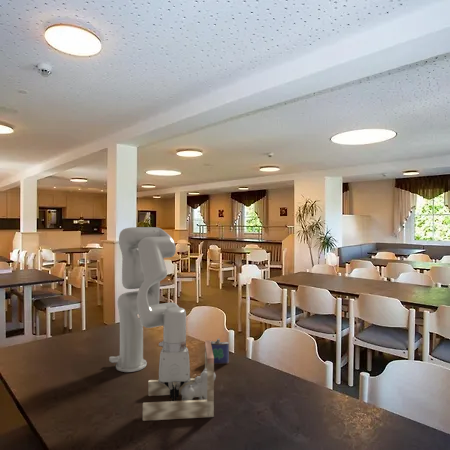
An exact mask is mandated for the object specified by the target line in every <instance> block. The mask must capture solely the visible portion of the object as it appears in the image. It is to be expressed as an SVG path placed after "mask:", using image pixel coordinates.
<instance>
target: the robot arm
mask: <svg viewBox="0 0 450 450" xmlns="http://www.w3.org/2000/svg"><path fill="white" fill-rule="evenodd" d="M118 245H119V249H120V252H121V258H122V260H121V261H122V263H121V265H122V266H121V284H122V287H123V288H124V289H126V290H133V291H127V292H124V293H122V294H120V295H119V296H118V298H117V308H118V309H117V310H118V316H119V355H117V356H109V357H108V358H109V359H108V360H109V362H110V363H111V364H115V369H116V370H117V371H119V372H122V373H123V372H124V373H133V372H139V371H141V370H143V369H145V368H146V366H147V363H148V362H147V360H146V359H144V328H147V329H152V328H157V327H162V326H163V328H162V329H163V332H162V333H163V335H162V337H163V340H162V341H161V342H159V343H158V347H161V348H162V349H161V350H160V354H159V363H158V364H159V365H158V379H157V380H158V383H161V384H165V385H166V386H167V387H168V388H169V390H170V395H169V399H171V401H178V399H179V397H180V394H179V389H180V387H181V386H182V385H183V384H184V383H188V382H190V381H191V365H190V364H191V362H190V354H189V353H190V352H189V348H188V347H187V312H186V309H185V308H183V307H180V306H179V305H178V304H177V303H176V302H172V301H171V302H165V303H160V295H161V294H160V293H161V292H160V291H161V290H160V288H161V283H160V282H161V281H163V280H164V279H166V277H167V276H168V271H167V267H166V263H165V262H166V261H165V259H167V258H172V257H174V256H175V254H176V251H177V247H176V243H175V240H174V239H173V238H172V236H171V235H170V234H168V232H166V231H165V230H164V229H162V228H160V227H157V226H156V227H154V226H153V227H152V226H151V227H150V226H149V227H143V226H139V227H137V226H136V227H135V226H134V227H133V226H132V227H126V228H123V229H122V230H121V231H120V233H119V236H118ZM137 289H138V290H137ZM173 382H177V383H176V385H175V395H174V385H173Z"/></svg>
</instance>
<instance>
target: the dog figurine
mask: <svg viewBox="0 0 450 450" xmlns="http://www.w3.org/2000/svg"><path fill="white" fill-rule="evenodd" d="M216 377H217V375H216V372H214V381H215V380H216ZM198 379H199V380H198ZM180 396H181V401H187V400H194V398H198V400H207V369H205V368H204V369H203V371H202V372H201V373H200V376H199V375H197V376H195V383H193V384H191V385H190V384H188V385H186V386H184V387H183V389H182V390H181V394H180Z"/></svg>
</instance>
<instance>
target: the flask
mask: <svg viewBox="0 0 450 450" xmlns="http://www.w3.org/2000/svg"><path fill="white" fill-rule="evenodd" d="M211 346H212V351H213V356H214V365H228V364H229V362H230V360H229V357H230V356H229V355H230V354H229V352H230V351H229V350H230V349H229V348H230V343H229V342H228V341H221V338H216V340H214V341H213V340H212V341H211Z"/></svg>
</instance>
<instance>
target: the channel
mask: <svg viewBox="0 0 450 450" xmlns="http://www.w3.org/2000/svg"><path fill="white" fill-rule="evenodd" d="M204 369H207V400H204V399H202V400H199V399H192V400H187V401H182V400H177V401H175V400H174V401H172V400H171V401H169V400H168V401H167V400H166V401H150V402H143V403H142V421H144V422H145V421H161V420H162V421H163V420H179V419H181V420H182V419H197V418H213V417H215V415H214V412H215V410H214V409H215V408H214V406H215V405H214V404H215V403H214V402H215V401H214V400H215V399H214V398H215V397H214V396H215V395H214V394H215V393H214V392H215V390H214V389H215V388H214V386H215V380H214V373H215V364H214V356H213V351H212V346H211V340H208V339H207V340H204ZM195 378H196V377H195ZM195 378H193V377H192V378H191V377H190V379H191V381H190V382H188V383H184V384H183V385H182V386H181V387H180V389H179V395H181V390H182V389H183V387H184V386H186V385H188V384H190V385H191V384H193V383H195ZM158 380H159V379H149V380H148V383H147V385H148V391H147V392H148V396H149V397H153V396H155V397H156V396H158V397H159V396H170V390H169V388H168V387H167V386H166V385H165V384H161V383H158ZM198 380H199V379H198ZM176 383H177V382H173V385H174V396H175V385H176Z"/></svg>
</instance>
